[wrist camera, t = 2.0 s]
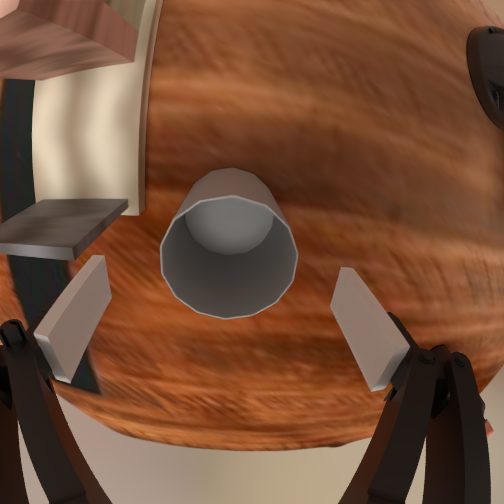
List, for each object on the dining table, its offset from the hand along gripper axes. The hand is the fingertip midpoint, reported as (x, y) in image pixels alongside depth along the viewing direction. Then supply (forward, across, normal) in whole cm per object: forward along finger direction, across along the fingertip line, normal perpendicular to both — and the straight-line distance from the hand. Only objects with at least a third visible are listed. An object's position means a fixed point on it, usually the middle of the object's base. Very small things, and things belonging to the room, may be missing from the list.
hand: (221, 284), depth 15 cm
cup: (+12, 0, 0) cm, 12 cm away
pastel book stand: (+12, -14, +12) cm, 22 cm away
